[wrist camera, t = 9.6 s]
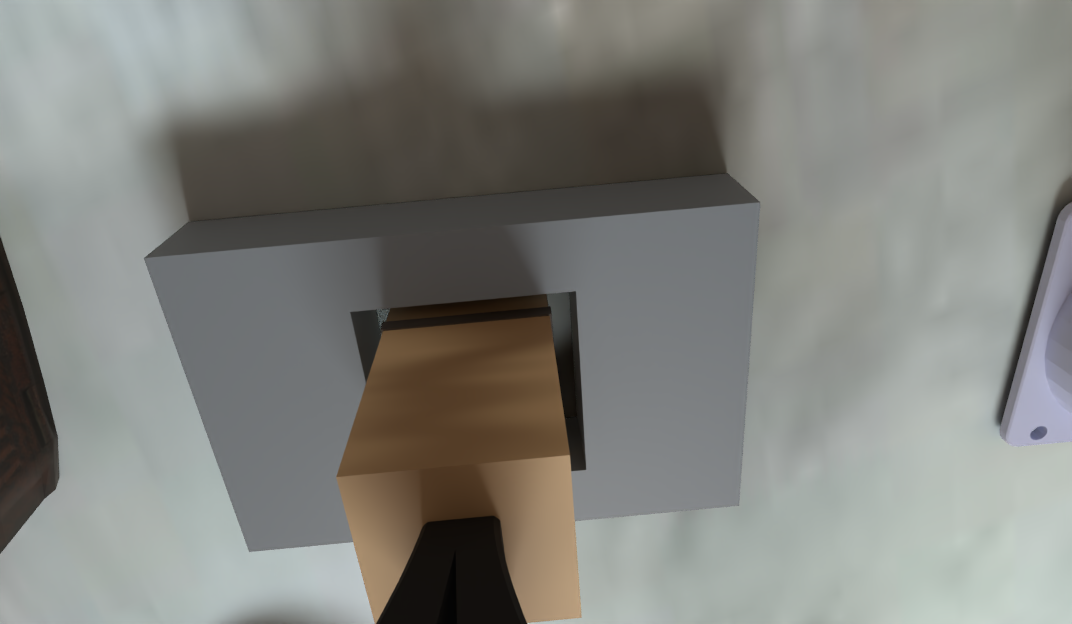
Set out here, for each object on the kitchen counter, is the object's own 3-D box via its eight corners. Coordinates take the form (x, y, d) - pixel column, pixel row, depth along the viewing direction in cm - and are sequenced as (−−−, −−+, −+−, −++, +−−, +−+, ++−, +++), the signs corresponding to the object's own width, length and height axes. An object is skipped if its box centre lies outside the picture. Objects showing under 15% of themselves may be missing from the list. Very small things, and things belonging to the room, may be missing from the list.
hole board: (727, 172, 18) (759, 202, 16) (714, 450, 22) (739, 505, 20) (188, 222, 18) (144, 257, 16) (274, 492, 22) (249, 551, 20)
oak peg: (544, 270, 19) (572, 452, 12) (554, 395, 21) (584, 619, 14) (395, 283, 19) (332, 475, 12) (418, 407, 21) (376, 638, 14)
